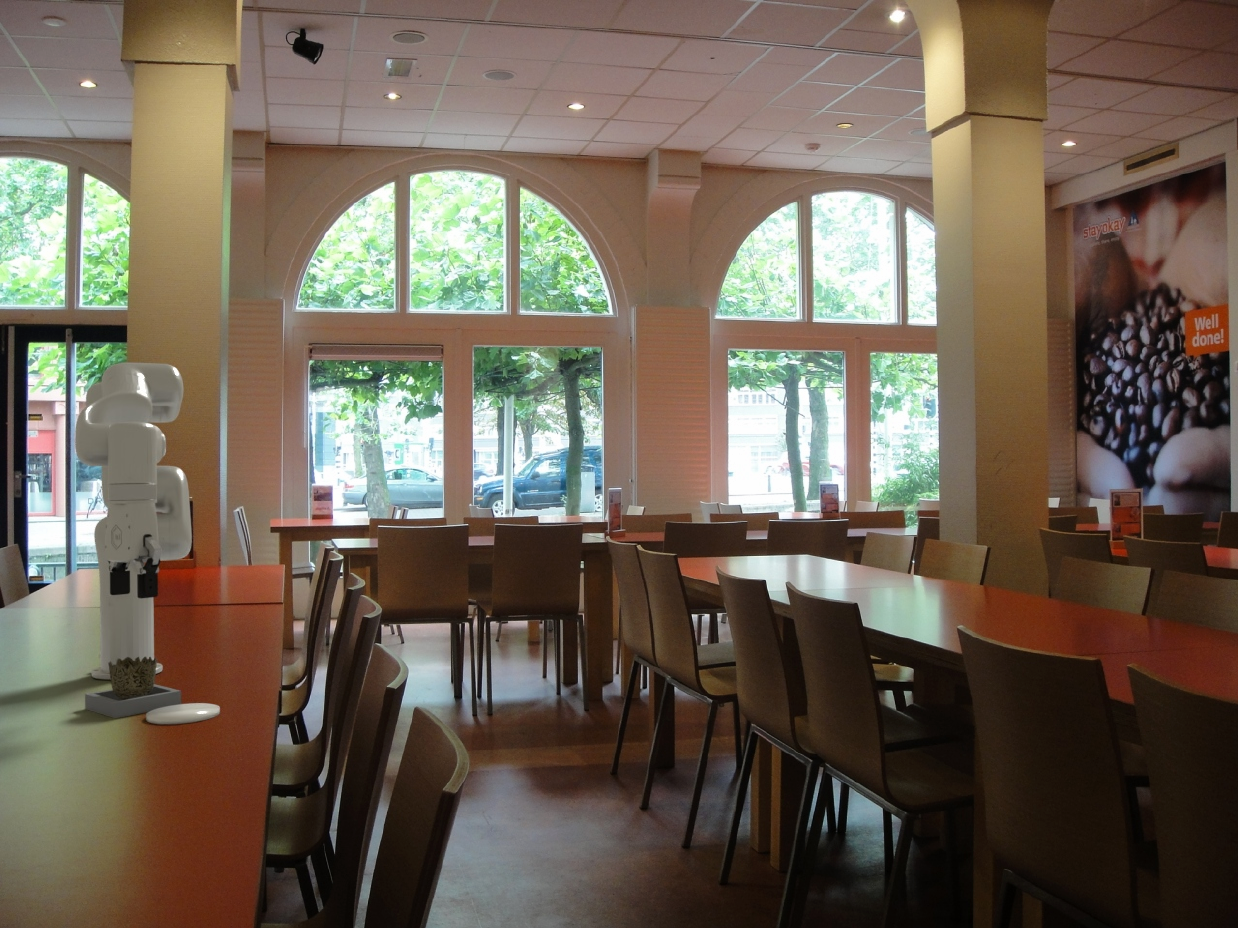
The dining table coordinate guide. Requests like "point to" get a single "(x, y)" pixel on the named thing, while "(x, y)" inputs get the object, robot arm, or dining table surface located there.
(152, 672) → the ornate bronze lamp shade
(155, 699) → the pocket frame
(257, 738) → the dining table surface
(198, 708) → the coaster
